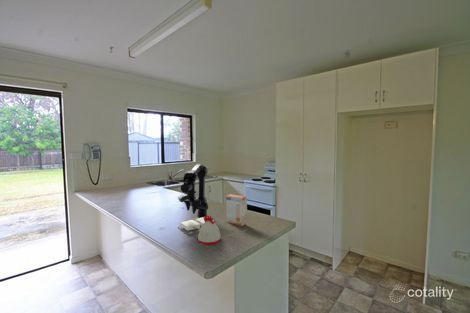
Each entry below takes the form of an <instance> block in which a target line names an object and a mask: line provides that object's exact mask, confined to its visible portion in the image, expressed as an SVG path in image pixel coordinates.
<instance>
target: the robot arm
mask: <svg viewBox="0 0 470 313" xmlns="http://www.w3.org/2000/svg"><path fill="white" fill-rule="evenodd" d="M208 171H209V170H208V168H207V167H206V166H204V165H203V164H201V163H196V164H195V165H194V167H193V168H192V169H191V170H187V171H185V173H184V175H183V179H182V183H183V184H181V186H180V190H181V192H182V193H183V194H181V195H179V196H178V197H177V199H178V200H179V202H180V203H185V204H184V205H185V207H186V211H190V208H191V209H192V210H191V211H192V214H193V215H195V214H196V211H197V214H196V215H197V217H198V218H202V217H205V216H207V217H208V214H207V211H208V210H209V204H208V202H207V198H206V196H205V195H206V194H205V191H206V190H205V189H206V186H205V184H206V182H205V181H206V180H205V179H206V178H207V176H208ZM197 178H198V198H197V197H196V193H197V191H196V180H197Z"/></svg>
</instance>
